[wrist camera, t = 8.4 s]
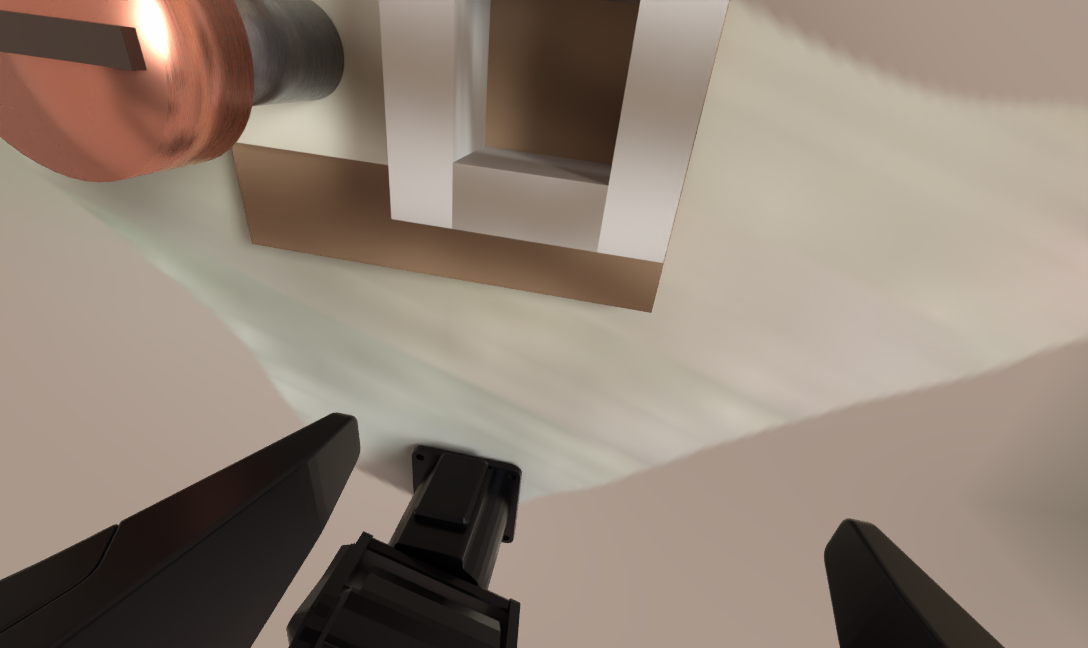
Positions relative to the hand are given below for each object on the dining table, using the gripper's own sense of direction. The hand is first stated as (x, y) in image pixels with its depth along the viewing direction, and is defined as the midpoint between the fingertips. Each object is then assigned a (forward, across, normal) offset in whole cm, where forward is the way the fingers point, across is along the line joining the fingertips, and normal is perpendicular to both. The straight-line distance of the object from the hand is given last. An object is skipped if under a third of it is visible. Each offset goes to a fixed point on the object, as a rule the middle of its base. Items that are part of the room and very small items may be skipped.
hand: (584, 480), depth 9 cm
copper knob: (+11, +12, -6) cm, 17 cm away
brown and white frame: (+13, +7, -6) cm, 16 cm away
